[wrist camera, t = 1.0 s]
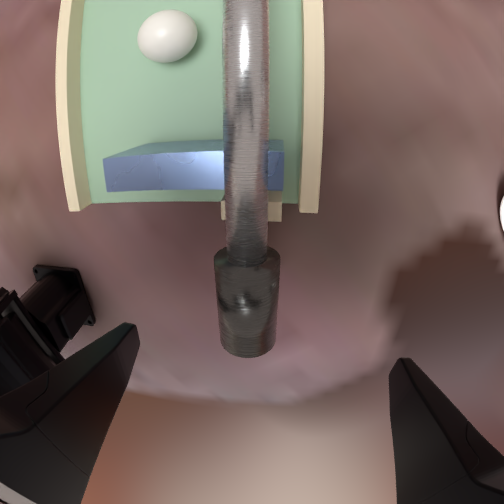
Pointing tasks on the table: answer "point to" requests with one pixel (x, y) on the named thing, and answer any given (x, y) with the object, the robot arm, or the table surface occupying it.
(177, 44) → the ball
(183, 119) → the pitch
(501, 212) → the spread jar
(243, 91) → the rod
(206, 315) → the table surface
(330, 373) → the table surface
